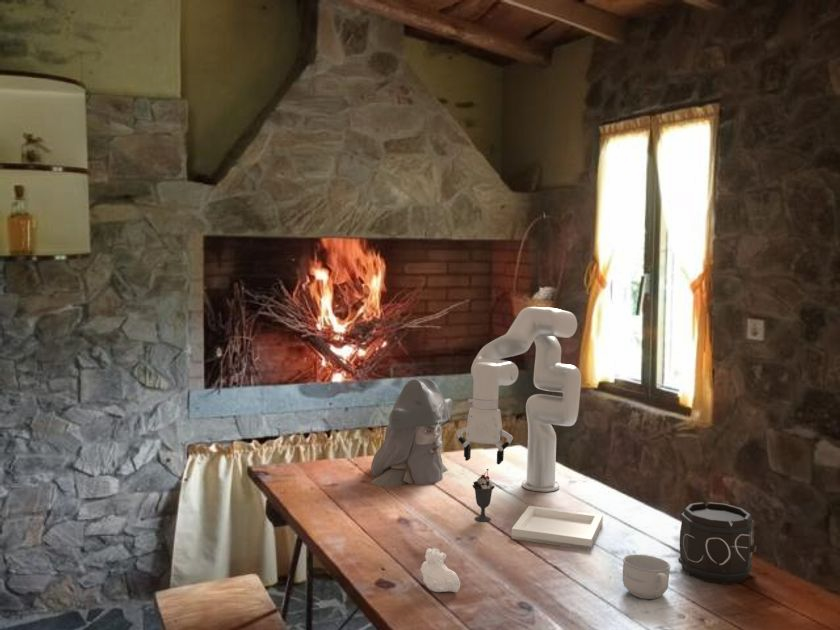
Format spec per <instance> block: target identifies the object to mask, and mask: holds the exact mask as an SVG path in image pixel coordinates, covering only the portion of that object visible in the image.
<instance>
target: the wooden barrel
mask: <svg viewBox="0 0 840 630" xmlns="http://www.w3.org/2000/svg"><path fill="white" fill-rule="evenodd" d="M679 518H680V520H681V524H680V530H679V556H678V563H679V564H680V565H681V568H682V570H683V571H684V572H685V573H686V574H687V575H688V576H689V577H691V578H694V579H697V580H699V581H703V582H706V583H710V584H720V585H728V586H729V585H732V584H733V585H734V584H738V583H744V582H745V580H746V579H747V578H748V577H749V575H750V573H751V572H752V570H753V569H754V566H753V564H752V561H753V556H754V553H756V552H757V545H755V537H754V535H755V534H754V528H755V525H756V523H755V520H754V519H752V515H751V514H750V513H749V512H748V511H747V510H745V509H743V507H738V506H735V505H730V504H727V503H722V502H721V503H719V502H709V501H708V502H707V503H704V502H695V503H690V504H689V505H687V506H686V508H685V509H684V511H683V512H682V513H681V514H680V517H679Z"/></svg>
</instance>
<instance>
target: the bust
mask: <svg viewBox="0 0 840 630" xmlns="http://www.w3.org/2000/svg"><path fill="white" fill-rule="evenodd" d="M452 406H453V400H452V398H450V397H449V398H448V397H447V398H444V397H443V394H442V392H441V389H440V388H439V386H438V384H437V383H436V382H435V381H433V380H431V379H429V378H426V377H424V378H419V379H411V380H409V381H408V382H407V383H406V384H405V385H404V386H403V388H402V390H401V392H400V393H399V395H398V397H396V400H395V403H394V405H393V408H392V409H391V411H390V413H389V417H388V424H387V426H386V429H385V435H384V441H383V443H382V444H381V445H380V447H379V449H377V451H376V452H375V454H374V456H373V457H372V458H373V459H372V461H371V466H370V474H371V476H372V477H375V476H376V477H375V478H374V479H372V480H371V485H375V486H378V485H379V486H378V487H381V486H382V487H381V488H393V487H392V486H395V487H398V486H397V485H399V486H402V485H401V484H403V485H407V484H406V483H408V484H409V485H417V486H423V485H432V483H433V484H437V483H439V482H441V481H442V480H443V479H444V477H443V473H446V472H448V470H449V469H448V468H447V467H446V466H445V464H444V463H443V462H444V461H443V458H442V449H443V447H444V443H443V438H442V435H443V429H442V428H443V425H444V424H445V423H446V422H447V423H448V420H450V419H451V413H452ZM436 482H437V483H436Z"/></svg>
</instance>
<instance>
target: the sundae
mask: <svg viewBox="0 0 840 630" xmlns="http://www.w3.org/2000/svg"><path fill="white" fill-rule="evenodd" d="M488 472H489V468H486V471H485V473H484V474H481V476H480V477H479V478H478V479H477V480H476V481H473V484H472V488H473V489H474V493H475V501H476V505H477V507H479V508H480V515H478V516H475V517H474V520H475V521H476V522H479V523H487V522H491V521H492V517H490V516H487V515H486V508H488V507H489V506H490V505H491V504H490V503H491V500H492V494H493V493H492V492H493V490H494V489H495V485H494V484H493V483H492V480H490V477H489V473H488ZM486 473H487V474H486Z"/></svg>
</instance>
